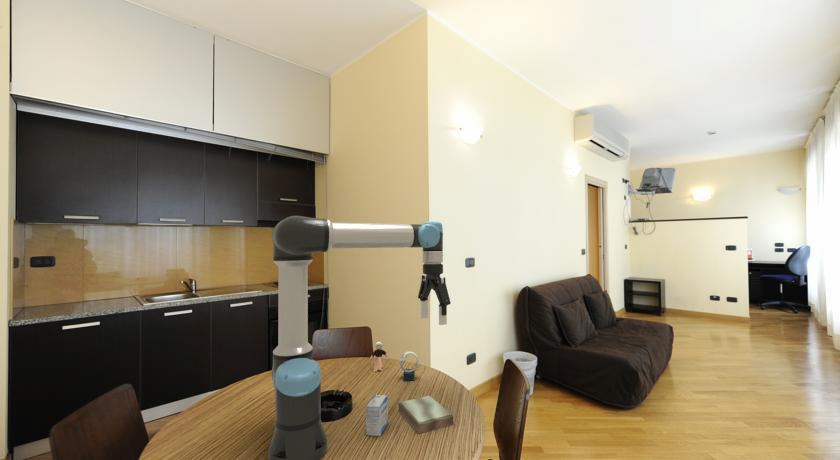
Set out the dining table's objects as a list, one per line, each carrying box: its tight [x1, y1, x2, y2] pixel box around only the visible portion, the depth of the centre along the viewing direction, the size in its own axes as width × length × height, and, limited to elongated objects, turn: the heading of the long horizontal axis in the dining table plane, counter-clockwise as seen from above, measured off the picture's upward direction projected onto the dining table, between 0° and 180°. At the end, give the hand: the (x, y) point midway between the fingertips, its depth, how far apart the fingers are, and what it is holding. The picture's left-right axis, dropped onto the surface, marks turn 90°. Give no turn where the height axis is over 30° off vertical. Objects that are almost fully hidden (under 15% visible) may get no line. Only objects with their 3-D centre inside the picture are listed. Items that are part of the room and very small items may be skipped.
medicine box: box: [365, 394, 389, 437], centre depth 106 cm, size 8×4×9 cm, turn 168°
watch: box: [398, 351, 419, 383], centre depth 145 cm, size 6×8×11 cm
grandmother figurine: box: [369, 341, 388, 373], centre depth 155 cm, size 8×4×13 cm, turn 119°
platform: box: [398, 395, 454, 435], centre depth 112 cm, size 12×16×3 cm
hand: (433, 321), depth 128 cm, fingers open, 13 cm apart
